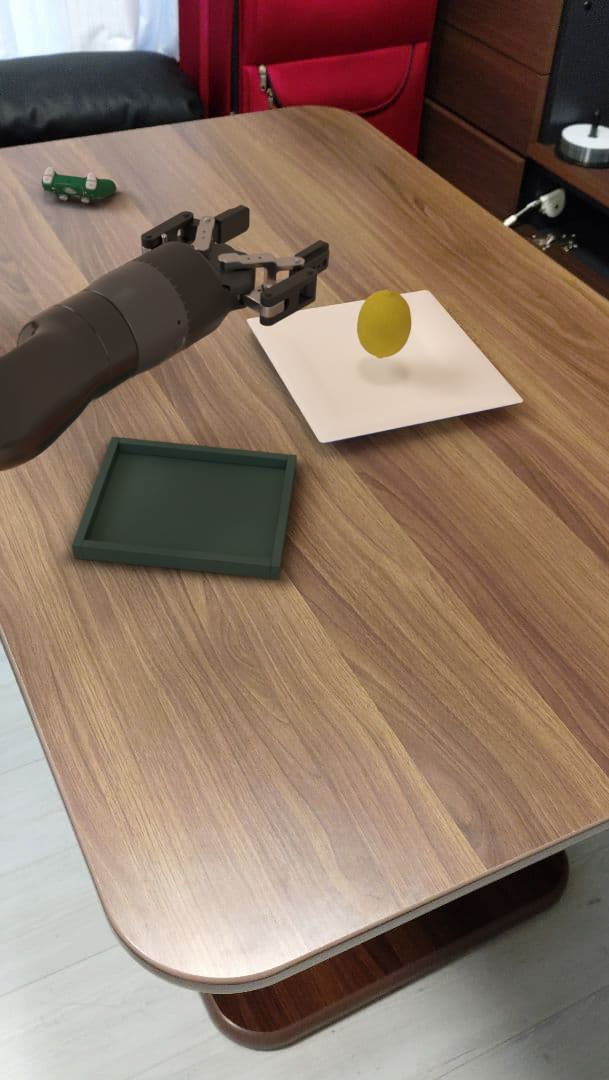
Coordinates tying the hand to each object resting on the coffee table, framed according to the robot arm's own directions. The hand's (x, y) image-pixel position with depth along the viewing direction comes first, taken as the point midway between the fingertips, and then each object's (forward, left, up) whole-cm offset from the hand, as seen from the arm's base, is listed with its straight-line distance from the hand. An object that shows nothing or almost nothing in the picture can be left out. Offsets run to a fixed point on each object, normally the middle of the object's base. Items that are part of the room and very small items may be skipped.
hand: (284, 233), depth 82 cm
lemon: (+10, +11, -19) cm, 24 cm away
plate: (+10, +11, -21) cm, 26 cm away
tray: (-6, -13, -21) cm, 25 cm away
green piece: (-31, +44, -21) cm, 58 cm away
